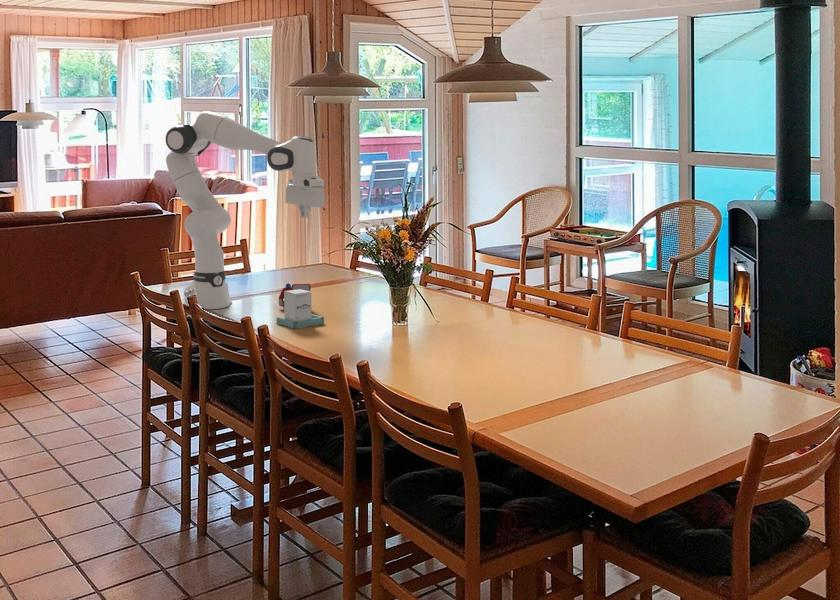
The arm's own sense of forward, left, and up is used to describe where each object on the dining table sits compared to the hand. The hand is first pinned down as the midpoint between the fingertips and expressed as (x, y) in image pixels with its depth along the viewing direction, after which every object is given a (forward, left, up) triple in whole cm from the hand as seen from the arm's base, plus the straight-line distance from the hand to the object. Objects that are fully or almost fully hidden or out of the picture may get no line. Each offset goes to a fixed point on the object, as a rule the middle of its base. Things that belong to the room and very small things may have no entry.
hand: (304, 217), depth 353 cm
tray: (+13, -12, -37) cm, 41 cm away
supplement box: (+14, -14, -37) cm, 42 cm away
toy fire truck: (-10, +2, -37) cm, 39 cm away
